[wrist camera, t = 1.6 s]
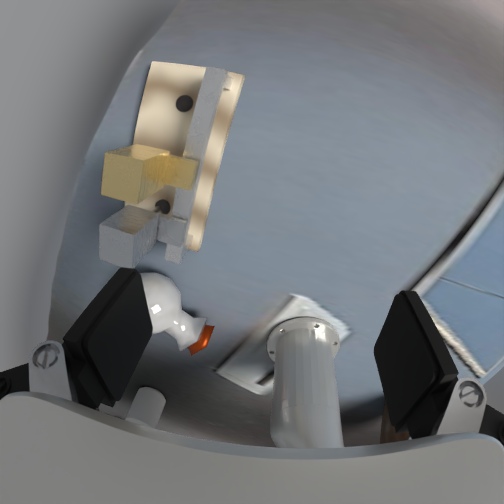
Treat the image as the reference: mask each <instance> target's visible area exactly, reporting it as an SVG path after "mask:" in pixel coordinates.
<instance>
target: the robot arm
mask: <svg viewBox="0 0 504 504" xmlns="http://www.w3.org/2000/svg"><path fill="white" fill-rule="evenodd" d="M152 332H153V326H152V322H151V318H150V313H149V309H148V305H147V300H146V296H145V291H144V286H143V282H142V277H141V274H140V273H138V272H137V270H136V269H133V268H125V267H121V268H120V269H119V270H118V271H117V272H116V273H115V274H114V276H113V277H112V278H111V279H110V280H109V281H108V283H107V284H106V285H105V286H104V287H103V288H102V290H101V291H100V292H99V293H98V294H97V296H96V297H95V298H94V299H93V300H92V302H91V303H90V304H89V305H88V307H87V308H86V309H85V310H84V312H83V313H82V314H81V315H80V317H79V318H78V319H77V320H76V322H75V323H74V324H73V326H72V327H71V328H70V329H69V331H68V332H67V333H66V335H65V336H64V337H63V340H64V343H63V344H62V345H61V344H60V343H58V342H56V341H45V342H43V343H40V344H39V345H37V346H36V347H35V348H34V349H33V350H32V352H31V354H30V357H29V363H27V364H24V365H21V366H18V367H15V368H12V369H9V370H6V371H3V372H0V504H504V414H502V413H500V412H499V411H497V410H495V409H494V408H492V407H490V406H489V405H487V404H486V402H487V395H486V391H485V389H484V387H483V386H482V385H481V383H480V382H478V381H477V380H476V379H473V378H471V377H464V378H461V379H460V380H458V378H457V375H458V370H457V368H456V366H455V364H454V362H453V360H452V357H451V355H450V353H449V351H448V349H447V347H446V345H445V343H444V341H443V339H442V337H441V335H440V333H439V331H438V329H437V328H436V326H435V324H434V322H433V320H432V318H431V316H430V315H429V313H428V311H427V309H426V308H425V306H424V304H423V302H422V301H421V299H420V297H419V295H418V294H417V292H416V291H401V292H400V293H399V294H397V295H396V296H395V297H394V300H393V303H392V305H391V308H390V310H389V313H388V315H387V318H386V320H385V323H384V325H383V328H382V330H381V332H380V335H379V337H378V339H377V341H376V344H375V346H374V356H375V360H376V364H377V368H378V371H379V375H380V379H381V383H382V387H383V392H384V396H385V400H386V405H387V409H388V414H389V419H390V423H391V425H392V426H395V431H396V433H402V432H408V431H409V435H410V437H409V439H408V440H406V441H399V442H392V443H384V444H377V445H368V446H357V447H344V444H343V437H342V429H341V419H340V409H339V400H338V392H337V384H336V376H335V369H334V362H333V358H334V357H335V356H336V354H337V352H338V351H339V347H340V340H339V335H338V333H337V331H336V329H335V328H334V327H333V326H332V325H330V324H329V323H327V322H325V321H323V320H320V319H317V318H310V317H302V318H295V319H292V320H288V321H286V322H284V323H282V324H280V325H279V326H277V327H276V328H275V329H274V330H273V331H272V332H271V333H270V335H269V337H268V340H267V352H268V355H269V357H270V358H271V360H272V361H274V362H275V368H274V382H273V397H272V410H271V422H270V433H271V437H272V439H273V441H274V443H275V445H276V446H277V447H278V448H272V447H258V446H248V445H238V444H230V443H223V442H216V441H210V440H204V439H199V438H193V437H188V436H183V435H179V434H174V433H170V432H166V431H162V430H158V429H154V428H150V427H147V426H143V425H140V424H136V423H133V422H130V421H126V420H123V419H120V418H117V417H114V416H111V415H108V414H105V413H102V412H100V411H99V408H98V407H99V405H100V403H102V404H105V405H108V406H111V407H113V406H114V404H115V402H116V401H119V400H120V399H121V397H122V395H123V393H124V391H125V388H126V386H127V384H128V382H129V380H130V378H131V376H132V374H133V372H134V370H135V368H136V366H137V364H138V361H139V359H140V357H141V355H142V353H143V351H144V349H145V347H146V345H147V343H148V342H149V340H150V338H151V336H152Z"/></svg>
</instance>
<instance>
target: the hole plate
mask: <svg viewBox="0 0 504 504" xmlns="http://www.w3.org/2000/svg"><path fill="white" fill-rule="evenodd" d="M205 71H206V68H204V67H198V66H191V65H183V64H175V63H165V62H154V61H152V64H151V67H150V71H149V74H148V78H147V82H146V86H145V89H144V94H143V98H142V102H141V106H140V111H139V115H138V120H137V125H136V130H135V135H134V141H133V145H135V144H139V145H144V146H149V147H153V148H158V149H163V150H167V151H170V154H171V155H175V156H179V157H183V154H184V150H185V146H186V141H187V137H188V133H189V129H190V125H191V121H192V117H193V113H194V109H195V105H196V102H197V98H198V94H199V91H200V87H201V84H202V81H203V77H204V74H205ZM228 75H229V76H231V77H232V78H233V82H232V85H231V88H230V90H226V89H223V91H222V95H221V98H220V102H219V105H218V109H217V112H216V116H215V120H214V123H213V127H212V131H211V135H210V138H209V142H208V146H207V150H206V154H205V158H204V162H203V167H202V171H201V175H200V179H199V184H198V188H197V193H196V197H195V202H194V207H193V212H192V216H191V221H190V226H189V231H188V234H190V235H193V241H192V245H191V247H190V248H189V249H190V250H193V251H196V252H198V250H199V249H200V247H201V242H202V238H203V233H204V229H205V224H206V220H207V216H208V211H209V207H210V203H211V199H212V195H213V190H214V186H215V182H216V178H217V174H218V170H219V167H220V163H221V159H222V155H223V151H224V148H225V144H226V140H227V137H228V133H229V129H230V126H231V122H232V119H233V115H234V112H235V108H236V105H237V102H238V98H239V95H240V92H241V88H242V85H243V82H244V79H245V76H244V75H241V74H237V73H232V72H228ZM176 188H177V187H174V186H170V185H166V184H164V187H163V188H162V189H160V190H159V191H157V192H156V193H154V194H153V195H151V196H150V197H148V198H147V199H145V200H144V201H142V202H141V203H139V204H138V205H136V204H132V203H129V202H125V206H127V205H132V206H135V207H139V208H142V209H146V210H149V211H152V210H153V209H154V208H155V207H157V206H159V207H161V208H162V210H163V213H162V214H166V215H169V216H172V210H173V204H174V199H175V193H176Z"/></svg>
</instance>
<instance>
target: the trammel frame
mask: <svg viewBox="0 0 504 504" xmlns="http://www.w3.org/2000/svg"><path fill="white" fill-rule="evenodd" d="M232 82H233V78H232V77H231V76H229V75H228V71H227V70H225V69H220V68H214V67H208V66H207V67H206V71H205V74H204V77H203V81H202V84H201V87H200V91H199V94H198V98H197V102H196V105H195V109H194V113H193V117H192V121H191V125H190V129H189V133H188V137H187V141H186V146H185V150H184V154H183V158H188V159H192V160H196V161H199V163H198V167H197V171H196V176H195V180H194V185H193V189H191V190H190V191H189V190H185V189H181V188H178V187H177V188H176V193H175V199H174V204H173V210H172V216H169V215H166V214H162V213H163V210H162V208H161V207H159V206H157V207H155V208H154V209H153V210H152V211H149V210H146V209H142V208H139V207H135V206H132V205H127V206H125V207H124V208H122V209H121V210H119V211H118V212H116V213H115V214H113V215H112V216H110V217H109V218H107V219H106V220H104V221H103V222H102V223H100V224H99V259H101V260H103V261H106V262H109V263H111V264H114V265H117V266H119V267H125V268H133V269H134V268H135V267H136V265H137V264H138V263H139V262H140V261H141V260H142V259H143V258H144V256H145V255H146V254H147V253H148V252H149V251H150V250H151V249H152V248H153V247H154V245H155V240H158V241H161V242H164V243H167V248H166V255H165V260H168V261H171V262H174V263H177V264H180V263H181V262H182V260H183V258H184V256H185V254H186V253H187V251H188V250H189V248H190V247H191V245H192V241H193V235H190V234H188V231H189V226H190V221H191V216H192V212H193V207H194V202H195V197H196V193H197V188H198V184H199V179H200V175H201V171H202V167H203V162H204V158H205V154H206V150H207V146H208V142H209V138H210V135H211V131H212V127H213V123H214V120H215V116H216V112H217V109H218V105H219V102H220V98H221V95H222V91H223V89H226V90H230V88H231V85H232Z"/></svg>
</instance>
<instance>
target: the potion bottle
mask: <svg viewBox="0 0 504 504" xmlns="http://www.w3.org/2000/svg"><path fill="white" fill-rule="evenodd" d="M140 274H141V277H142V282H143V286H144V291H145V296H146V300H147V305H148V309H149V313H150V318H151V322H152V326H153V332H152V334H155V333H159V332H163V331H165V332H167V333H168V334H170V335H171V336H173V337H174V338H176V339H177V343H178V346H179V350H180V351H182V350H184V349H186V348H188V349H189V350H190V353H191V355H193V354H195V353H197V352H198V351H200V350H202V349H204V348H205V347H207V344H208V342H209V339H210V337H211V334H212V332H213V329H214V326H210V325H205V324H206V319H207V318H203V317H191V316H190V315H188V314H187V313H186V312H184V311H183V310H182V306H181V293H180V292H179V290H178V289H177V287H176V285H175V284H174V282H173V281H172V279H171V278H169V277H166V276H164V275H162V274H160V273H158V272H147V273H140Z"/></svg>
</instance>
